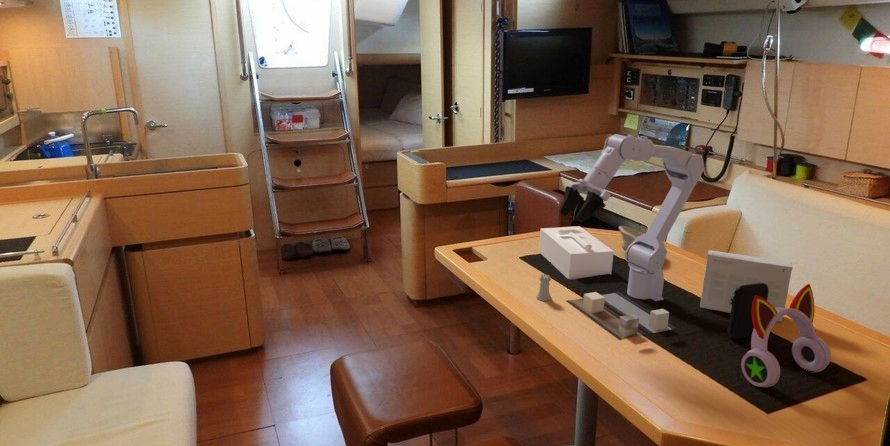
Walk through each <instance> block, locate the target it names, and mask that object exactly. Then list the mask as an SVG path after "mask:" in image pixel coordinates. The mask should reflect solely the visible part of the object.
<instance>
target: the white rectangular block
mask: <svg viewBox="0 0 890 446" xmlns="http://www.w3.org/2000/svg"><path fill="white" fill-rule="evenodd" d="M538 252H539V253H540V254H541V255H542V256H543V258H544V259H546V260H547V261H548V262H549V263H550V262H551V263H550V264H551V265H552V266H554V268H556V269H557V271H558V272H560V273H561V274H562V275H563V276H564V277H565V278H567V279H568V280H577V279H583V278H584V279H585V278H589V277H591V278H592V277H595V276H602V275H612V270H613V262H614V253H615V252H614V250H612V249H611V248H610V247H608V246H607V245H606V244H604V242H602V241H600V240H599V239H598V238H596V237H595V236H594V235H592V234H591V233H589V232H588V231H586V230H585V229H584V228H582V227H581V226H562V227H544V228H542V227H541V228H540V230H539V244H538ZM567 279H566V280H567Z"/></svg>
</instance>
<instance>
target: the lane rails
mask: <svg viewBox="0 0 890 446" xmlns="http://www.w3.org/2000/svg"><path fill="white" fill-rule="evenodd" d="M615 293H616V294H618V295H619V296H621V297H622V298H624V299H625V300H627V301H629V302H630V303H632V304H633V305H635V306H637V307H638V308H640V309H641V310H643V311H644V312H646V313H648V314H649V315H650V311H651V310H648V309H647V308H645V307H643V305H641V304H638V303H637V302H635V301H634V300H632V299H630V298H629V297H628V296H626V295H624V294H623V293H621V292H620V291H616V292H615ZM565 301H566V303H568V304H569V305H570V306H572V307H573V308H575V309H576V310H578V311H579V312H580V313H581V314H583V315H585V317H587V318H589V319H590V320H591V321H592V322H594V323H595V324H596V325H598V326H600V328H602V329H603V330H605V331H607V332H608V334H610V335H612V336H613V337H615V339H617V340H619V341H620V340H623V339H622V338H620V337H619V336H618V335H616V334H615V333H614V332H612V331H611V330H609V329H608V328H607V327H605V326H604V325H602V324H601V323H600V322H598V321H597V320H596V319H594V318H593V317H591V316H590V315H589V314H587V313H586V312H585V311H583V310H582V309H580V308H579V307H578V306H576V305H575V304H573V303H572V302H571V301H570V299H567V300H565ZM607 306H608V307H607ZM609 307H610V308H611V309H610V308H609ZM604 309H605V310H606V311H608V312H609V313H611V314H612V315H614V316H615V317H617V318H618V319H620V317H621V316H626V314H624V313H623V312H621V311H620V310H618V309H617V308H615V307H614V306H612V305H611V304H609V303H608V302H606V301H604ZM613 310H614V311H613ZM615 311H616V312H617V313H616V312H615ZM668 327H670V328H671V330H676V328H677V327H676V326H674V325H673V324H671V323H669V322H668ZM640 328H641V329H640ZM643 330H644V331H645V332H644V331H643ZM637 332H639V333H640V334H641V336H646V334H647V333H648V334H650V335H651V334H654V333H653V332H651V331H650V330H648V329H647V328H645V327H644V326H642V325H641V324H639V323H638V331H637ZM646 332H647V333H646Z"/></svg>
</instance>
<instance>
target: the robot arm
mask: <svg viewBox="0 0 890 446" xmlns="http://www.w3.org/2000/svg"><path fill="white" fill-rule="evenodd" d="M651 158H659V159H661V160H660V161H661V162H662V166H663V170H664V171H665V174H666V176H667V178H668V180H669V181H670V182H671V187H670V189H669V191H668V193H667V194H666V196H665V199H663V202H662V204H661V205H660V207H659V209H658V210H657V213H656V214H655V216H654V218H653V219H652V222H651V223H650V224H649V227H648V229H647V230H646V233H643V235H641V236H638V237H636V238H635V240H634V242H633V243H632V244H631V245H629V247H628V248H627V250H626V251H625V253H624V254H625V255H624V257H625V260H626V261H627V263H628V265H627V266H628V267H629V271H628V272H629V273H628V283H627V291H626V292H627V296H629V297H631V298H634V299H636V300H649V299H651V300H653V301H655V302H658V301H659V302H660V301H664V297H663V296H662V295H663V289H664V283H665V277H664V276H665V275H664V272H663V270H662V267H663V266H664V265H665V264H664V263H665V260H666V256H667V254H668V250H667V247H666V245H665V243H664V242H665V240H666V239H667V237H668V235H669V233H670V231H671V229H672V227H673V226H674V224H675V222H676V221H677V219H678V217H679V215H680V213H681V212H682V209H683V207H684V206H685V204H686V203H687V201H688V199H689V198H690V196H691V194H692V192H693V190H694V189H695V187H696V185H697V183H698V181H699V180H700V177H701V176H702V175H703V172H704V170H705V164H704V163H705V162H704V158H703V157H702V155H700V154H697V153H696V154H695V153H693V152H692V151H689V150H688V151H687V150H685V149H682V148H678V147H675V146H669V145H660V144H659V145H658V144H657V145H656V144H654V143H653V141H652V140H651V139H648V136H644V135H643V136H642V135H640V137H635V136H634V135H633V134H627V136H626V135H621V134H619V133H618V134H617V133H615V134H613V135H611V136H609V137H607V138H606V139H605V141H604V146H603V149H602V150H601V153H600V156H599V157H598V159H597V160H596V161H595V163H594V164H593V166H592V167H591V168H590V170H589V171H588V172H587V174H586V175H585V177H584V178H583V179H582V178H579V180H578V181H575V182H574V181H572V182H571V183H570V184H569V185H567V186H565V189H564V196H563V200H562V202H561V205H560V208H559V210H558V212H559V213H560V214H561V216H563V217H566V216H567V215H568V214H570V212H571V211H572V210H573V209H574V207H576V206H577V204H579V203H580V202H582V201H584V202H583V204H582V206H581V208H580V209H579V211H578V212H577V214H576V217H575V218H576V219H577V220H578V221H579V222H581V223H583V222H585V221H586V220H587V219H588V218H590V217H591V216H592V215H594V213H596V212H598V211H599V210H601V209H603V208H605V207H606V205H607V204H606V203H605V202H607V201H608V200H609V199H610V198H611V196H612V195H611V194H610V193H609V192H608V191H607V190H605V189H606V188H607V186H608V185H609V183H610V182H611V181H612V179H613V178H614V176H615V175H616V173H617V172H618V171H619V169H620V168H621V167H622V166H623V163H624V162H625V160H627V161H630V160H635V161H643V162H644V161H649V160H650V159H651ZM581 194H582V195H585V198H584V197H583V196H582V195H581ZM584 199H585V200H584ZM648 247H650V248H648ZM651 248H652V249H651ZM653 249H655V250H653Z"/></svg>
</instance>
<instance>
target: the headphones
mask: <svg viewBox="0 0 890 446" xmlns="http://www.w3.org/2000/svg"><path fill="white" fill-rule="evenodd" d="M782 316H783V317H784V316H787V317H788V318H790V319H791V320H792V321H793V322H794V323H795V325H796V327H797V330H798V332H799V336H798V337H797V338H796V339H795V340H794V341H793V344H792V347H791V353H792V357H793V359H794V361H795V362H796V364H797V365H798V366H799V367H800V368H802V369H803V368H804V369H803V370H805V369H806V370H805V371H807V370H808V371H807V372H809V371H814V372H813V373H819V372H822V371H824V370H825V369H826V368H827V367H828V366H829V364H830V363H831V361H832V352H831V349H830V347H829V345H828V344H827V343H826V341H825V340H823V339H822V338H821V337H819V336H817V333H816V330H815V329H816V328H815V326H814V324H813V322H814V317H815V299H814V293H813V290H812V287H811V284H810V283H807V284H806V285H804V286H803V287H802V288H801V289H800V290H799V291H798V292H797V293H796V294H795V296H794V298H793V299H792V300H791V303H790V305H789V307H785V308H782V307H773V306H772V305H771V304H770V303H769V302H768V301H767V300H765V299H764V298H762V297H760V296H756V295H755V297H754V300H753V303H752V321H753V325H754V329H753V333H752V337H750V338H751V339H750V348H751V349H750V350H748V351H747V352H746V353H745V354H744V355H743V356H742V358H741V364H740V365H741V371H742V375H743V376H744V378H745V379H746V380H747V381H748V382H749V383H750V384H751V385H754V387H755V386H756V387H761V388H770V387H772V386H775V385H776V384H777V383H778V381H779V379H780V376H781V368H780V367H781V366H780V363H779V361H778V359H777V358H776V357H775V355H774V354H773V353H772V352H770V351H768V341H769V337H770V334H771V331H772V329H773V328H774V326H775V324H776V323H777V322H778V321H777V320H778V319H779V318H781V317H782Z"/></svg>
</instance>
